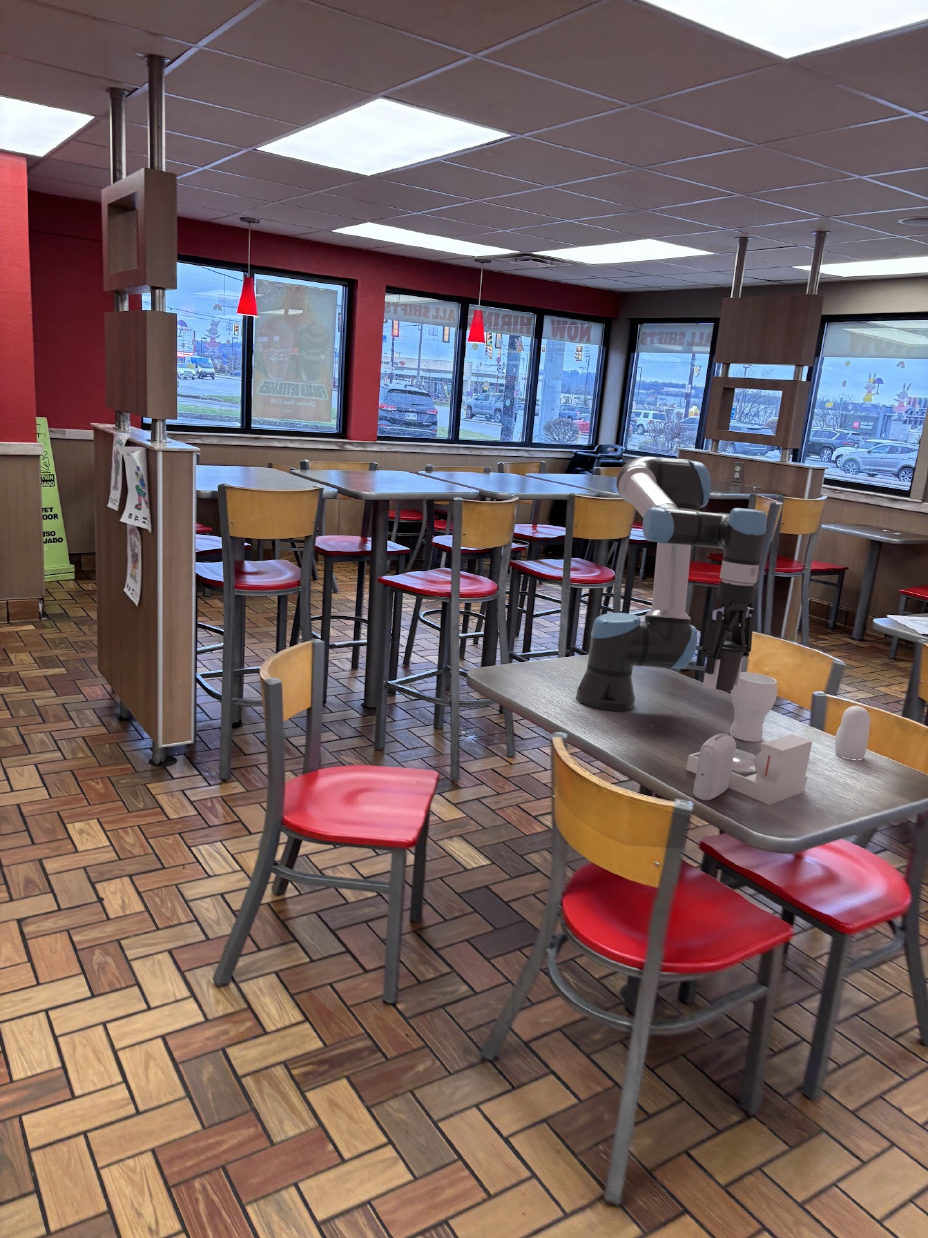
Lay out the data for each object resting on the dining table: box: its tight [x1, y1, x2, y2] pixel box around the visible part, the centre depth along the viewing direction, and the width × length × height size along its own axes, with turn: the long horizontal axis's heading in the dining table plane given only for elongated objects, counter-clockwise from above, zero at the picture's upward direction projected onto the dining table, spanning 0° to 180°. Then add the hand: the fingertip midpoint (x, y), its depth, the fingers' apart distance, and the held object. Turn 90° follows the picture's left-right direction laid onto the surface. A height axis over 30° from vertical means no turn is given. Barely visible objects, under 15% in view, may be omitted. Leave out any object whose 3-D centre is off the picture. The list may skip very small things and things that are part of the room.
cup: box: [729, 671, 778, 743], centre depth 220 cm, size 11×11×15 cm
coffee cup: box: [714, 640, 746, 692], centre depth 195 cm, size 8×8×10 cm
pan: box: [731, 748, 757, 774], centre depth 195 cm, size 12×12×3 cm
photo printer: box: [692, 733, 737, 801], centre depth 183 cm, size 10×4×12 cm, turn 140°
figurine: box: [834, 705, 871, 760], centre depth 215 cm, size 7×8×12 cm
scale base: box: [685, 733, 813, 806], centre depth 192 cm, size 21×14×11 cm
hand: (720, 685), depth 196 cm, fingers closed on coffee cup, 8 cm apart
